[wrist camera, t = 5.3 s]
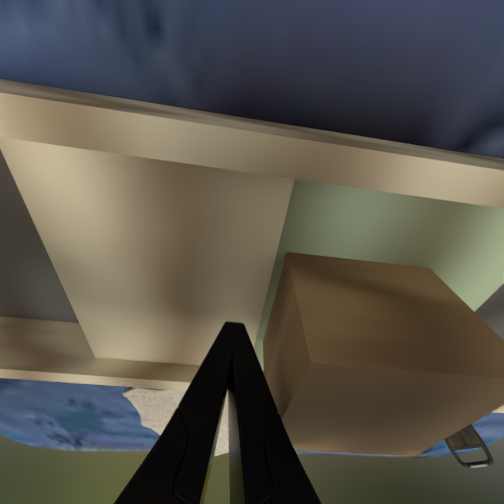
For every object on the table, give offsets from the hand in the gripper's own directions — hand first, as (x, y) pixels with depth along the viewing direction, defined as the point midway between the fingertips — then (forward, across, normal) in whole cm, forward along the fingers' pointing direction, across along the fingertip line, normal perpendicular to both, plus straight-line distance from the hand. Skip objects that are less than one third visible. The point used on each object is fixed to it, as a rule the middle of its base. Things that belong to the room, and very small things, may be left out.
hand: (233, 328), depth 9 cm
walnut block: (+2, -5, 0) cm, 5 cm away
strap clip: (+4, -24, +17) cm, 30 cm away
